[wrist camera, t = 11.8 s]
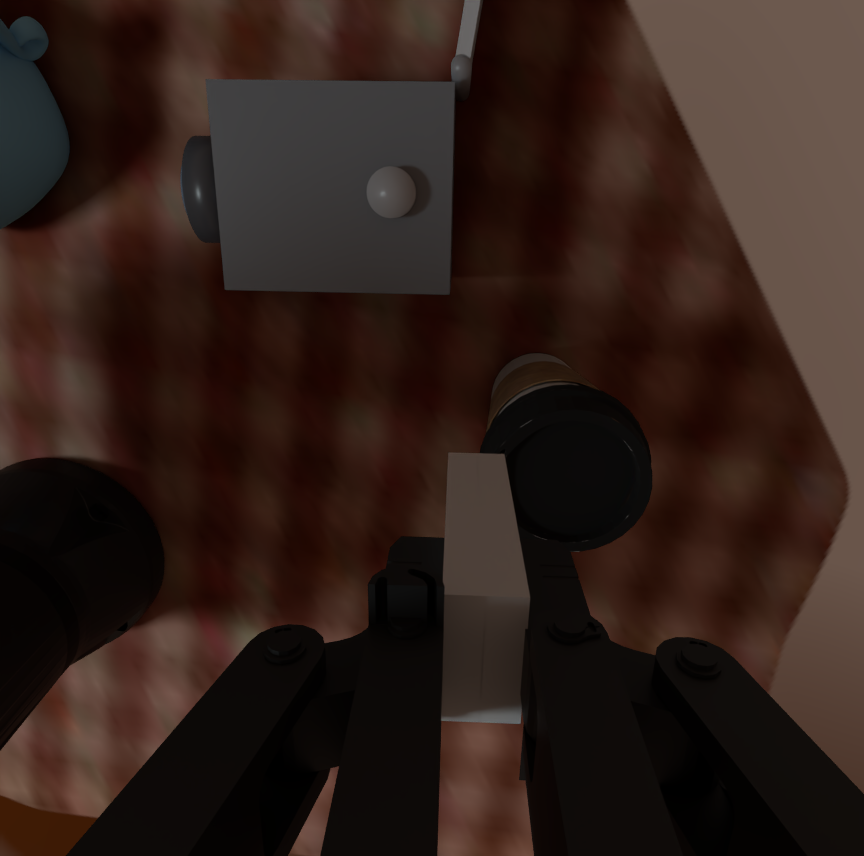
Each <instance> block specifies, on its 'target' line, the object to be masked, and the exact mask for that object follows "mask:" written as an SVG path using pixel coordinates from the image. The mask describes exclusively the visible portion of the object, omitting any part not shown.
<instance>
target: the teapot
mask: <svg viewBox="0 0 864 856" xmlns="http://www.w3.org/2000/svg"><path fill="white" fill-rule="evenodd" d="M48 43H49V40H48V37H47V34H46V32H45V30H44V28H43V27H42V25H41V24H40V23H39V22H37V21H36V20H35V19H33V18H31V17H28V16H24V17H21V18H18V19H17V20H16V21H15V22H14V23H13V24H12V25H11V26H10V29H8V28H7V27H6V25H5V24H4V23H3V21H2V20H1V19H0V229H2V228H4V227H6V226H7V225H9V224H10V223H12V222H14V221H15V220H17V219H18V218H20V217H21V216H23V215H24V214H25V213H27V212H28V211H29V210H31V209H32V208H33V207H34V206H35V205H36V204H37V203H38V202H39V201H40V200H41V199H42V198H43V197H44V196H45V195H46V194H47V193H48V192H49V191H50V190H51V188H52V187H53V186H54V185H55V183H56V182H57V181H58V179H59V178H60V177H61V175H62V174H63V172H64V170H65V167H66V165H67V163H68V158H69V153H70V141H69V136H68V131H67V128H66V125H65V122H64V119H63V116H62V114H61V112H60V110H59V107H58V105H57V103H56V101H55V98H54V97H53V95H52V93H51V91H50V89H49V87H48V85H47V83H46V81H45V79H44V78H43V76H42V74H41V73H40V71H39V69H38V68H37V66H36V65H35V63H34V62H33V61H35V60H37V59H39V58H40V57H41V56H42V55H43V54H44V53H45V51H46V50H47V47H48Z"/></svg>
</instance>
